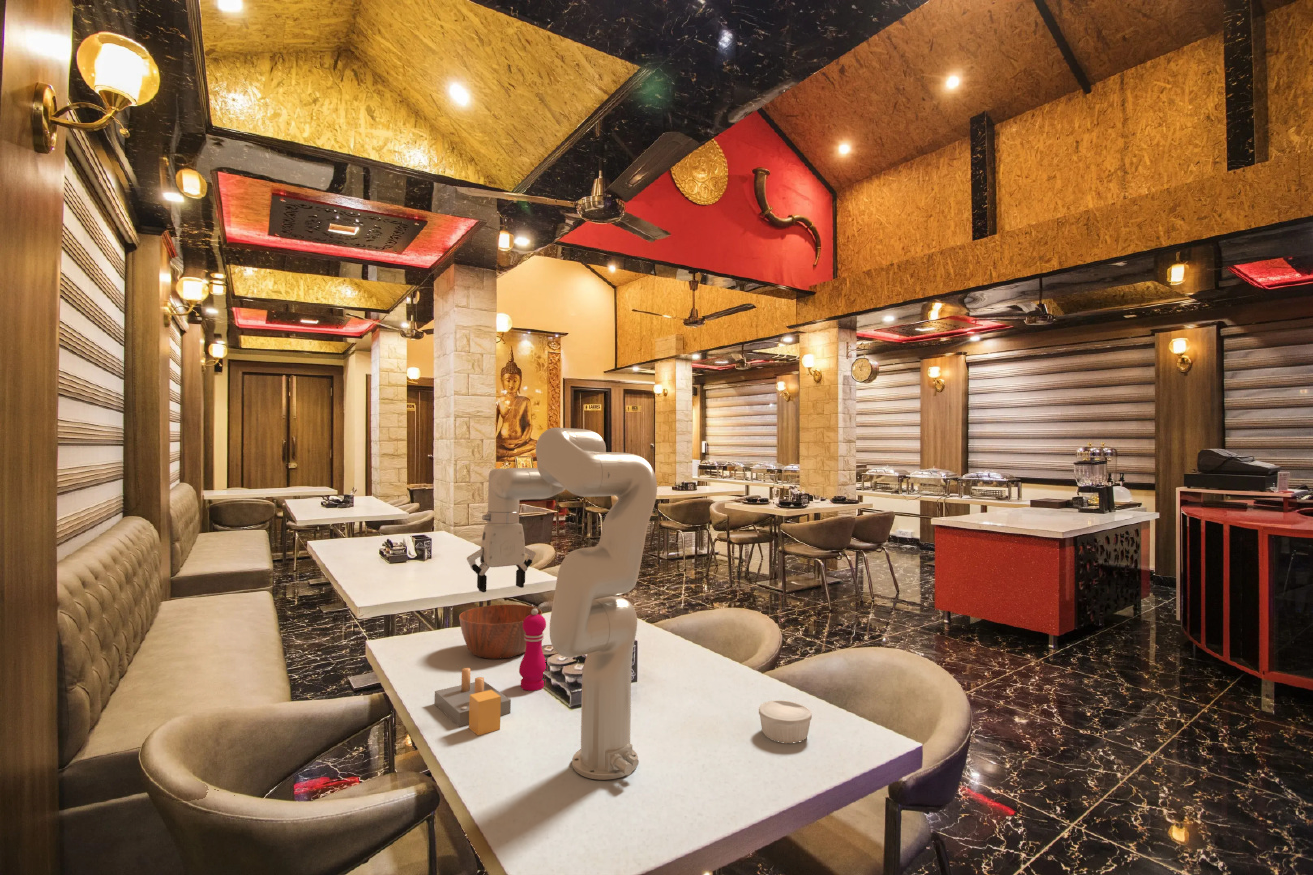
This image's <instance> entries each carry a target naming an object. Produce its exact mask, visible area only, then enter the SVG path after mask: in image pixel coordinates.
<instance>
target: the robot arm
mask: <svg viewBox="0 0 1313 875" xmlns="http://www.w3.org/2000/svg"><path fill="white" fill-rule="evenodd" d="M606 446H607V445H606V442H605V441H604V438H602V436H601V435H600V434H599V433H597V432H595V431H593V430H590V429H585V428H569V427H551V428H548V429H546V430H544V431H543V432H542V433H541V435H540V436H539V437H538V439H537V440H536V444H535V456H536V467H509V468H508V467H507V468H493V469H491V470H490V471H489V473H488V486H487V487H488V491H487V492H488V493H487V511H486V513H485V514H482V515H481V520H482V521H486V523H487V524H484V526H483V531H482V535H481V536H482V537H481V543H480V548H479V549H478V550H477V551H475V552H473V553H471V554H470V555H468V556H467V557H466V561H467V563H468V565H469V567H470V569H471V570H472V571H473V572H474V573H475V574H476V576H477V577H476V578H477V579H476V587H477V589H478V591H479V592H481V593H486V592H487V585H488V583H487V579H488V576H487V575H486V573H487V572H488V571H489V569H490V568H500V567H502V568H503V567H510V566H511V567H513V566H516V567H517V569H516V570H515V571H516V572H515V586H516V587H518V588H521V589H522V588H524V587H525V582H526V572H527V571H528V568H529V567H530V566H531V565H532V564H533V560H534V559H535V556H536V551H533V550H532V549H529V548H527V547H526V544H525V542H526V540H525V532H524V528H523V524H522V523H520V501H522V500H546V499H549V498H552V497H554V496H556V495H558V494H560V493H564V491H565V490H567V491H568V492H569V493H570V494H572V495H574V496H578V497H582V498H583V497H585V498H589V497H615V496H616V497H617V500H616V502H614V504H613V505H612V506H611V507H610V508H609V511H608V512H607V513H606V515H605V518H604V520H603V523H602V527H601V533H600V537H599V541H598V543H597V545H594V546H591V547H590V546H589V547H582V548H578V549H574V550H572V551H570V552H569V553H568V554H567V555H566V556H565V557H564V558H563V560H562V562H560V566H559V569H558V572H557V577H556V584H555V588H554V595H553V601H552V607H551V614H550V619H549V638H550V643H551V646H552V648H553V650H554V651H555V653H556V654H558V655H559V656H561V657H564V658H569V659H570V658H577V657H580V656H585V655H586V657H585V659H584V664H583V667H582V673H581V674H582V675H581V710H580V711H581V712H580V713H581V717H580V718H581V719H580V720H581V721H580V722H581V723H580V749H579V750H578V751H575V753H574V754H573V755H572V756H573V757H572V758H571V759H572V761H571V762H572V763H571V764H572V768H573V770H574V771H575V772H576V773H577V774H579V775H580V776H581V777H584V778H587V779H591V780H598V781H599V780H600V781H607V780H608V781H609V780H615V779H620V778H623V777H625V776H630V775H631V774H632V772H633V771H634V770H636V768H637V767H638V766H639V763H640V761H639V756H638V753H637V752H636V751H635V750H634V749H633V744H632V743H631V712H632V711H631V710H632V709H631V708H632V706H631V705H632V667H633V666H632V662H633V652H634V646H635V640H636V636H637V631H638V629H637V628H638V615H637V612H636V609H635V608H634V606H633V604H632V603H631V602H630V601H629V600H628V599H626V598H624V597H621V595H623V594H624V595H625V594H626V593H629V592H630V591H632V590H633V589H634V588H635V587H636V584H637V581H638V578H639V574H640V570H641V566H642V565H641V564H642V559H643V555H644V549H645V548H644V547H645V543H646V535H647V530H648V526H649V524H650V521H651V520H650V519H651V516H652V513H653V510H654V507H655V504H656V500H657V493H658V482H657V477H656V473H655V470H654V469H653V466H651V464H650V462H649V461H648V460H646V459H645V458H644V457H642V456H641V455H638V454H633V453H628V452H616V451H614V452H613V451H611V452H610V451H607V447H606ZM526 555H527V556H526ZM478 559H479V560H480V564H479V565H477V562H476V560H478ZM619 595H620V596H619Z"/></svg>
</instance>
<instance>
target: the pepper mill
mask: <svg viewBox="0 0 1313 875" xmlns="http://www.w3.org/2000/svg"><path fill="white" fill-rule="evenodd" d="M531 613H532V615H529V616H527V617H526V618H525V619H524V621H523V630H524V631H525V632H526V633H525V634H524V636H525V638H524V639H525V640H526V651H525V652H524V653H523V657H522V660H521V661H520V664H519V667H518V669H519V670H518V672H519V675H520V676H521V677H522V678H520V688H521V690H523V689H524V690H523V691H527V690H528V691H529V692H531V691H532V692H535V691H539V689H540V690H542V689H544V688H545V687H544V681H543V680H542V678H543V672H544V671H545V669H546V663H545V662H547V660H546V661H545V659H546V658H545V657H546V656H545V655H544V652H543V644H542V643H543V641H544V639H545V637H544V636H545V633H544V631H545V630H546V628H547V621H546V618H545V617H544V616H543V615H542V616H541V615H539V614H538V610H537V609H535V608H534V609H532V611H531ZM543 687H544V688H543ZM534 690H535V691H534Z"/></svg>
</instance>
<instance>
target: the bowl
mask: <svg viewBox="0 0 1313 875" xmlns="http://www.w3.org/2000/svg"><path fill="white" fill-rule="evenodd" d="M534 608H535V609H537V610H538V614H539V615H541V616H543V611H542V609H540V608H538V607H537V606H532V605H525V604H493V605H483V606H479V607H475V608H470V609H467V610H465V611H463V612H461V613H460V614H459V616H458V617H459V624H460V629H461V634H462V636H463V639H464V642H465V645H466V647H467V649H468V650H469V651H470V652H471V653H472V654H473V655H475V656H476V657H479V658H484V659H492V660H493V659H494V660H497V659H508V658H512V657H513V656H514V657H517V656H519V655H522V654H525V651H526V640H525V639H524V638H525V636H524V634H525V633H526V632H525V631H524V630H523V621H524V619H525V618H526V617H527V616H529V615H532V613H531V611H532V609H534Z"/></svg>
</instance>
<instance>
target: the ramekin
mask: <svg viewBox="0 0 1313 875" xmlns="http://www.w3.org/2000/svg"><path fill="white" fill-rule="evenodd" d="M758 715H759V719H760V727H761V731H762V733H763V734H764V735H765V737H766V738H767V739H769V738H770V739H769V740H771V739H772V740H771V741H773V740H775V741H774V742H776V741H779V742H778V743H780V742H784V743H783V744H787V743H793V742H799V741H802V740H803V741H805V740H806V739H807V737H808V734H809V731H810V730H809V729H810V724H811V720H812V718H813V716H812V715H813V713H812V711H811V709H809V708H808V707H807V706H805V705H803V704H800V703H797V702H793V701H788V700H770V701H766V702H763V703H761V704H760V705H759V706H758ZM804 739H805V740H804ZM803 741H802V742H803ZM799 743H800V742H799Z"/></svg>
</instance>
